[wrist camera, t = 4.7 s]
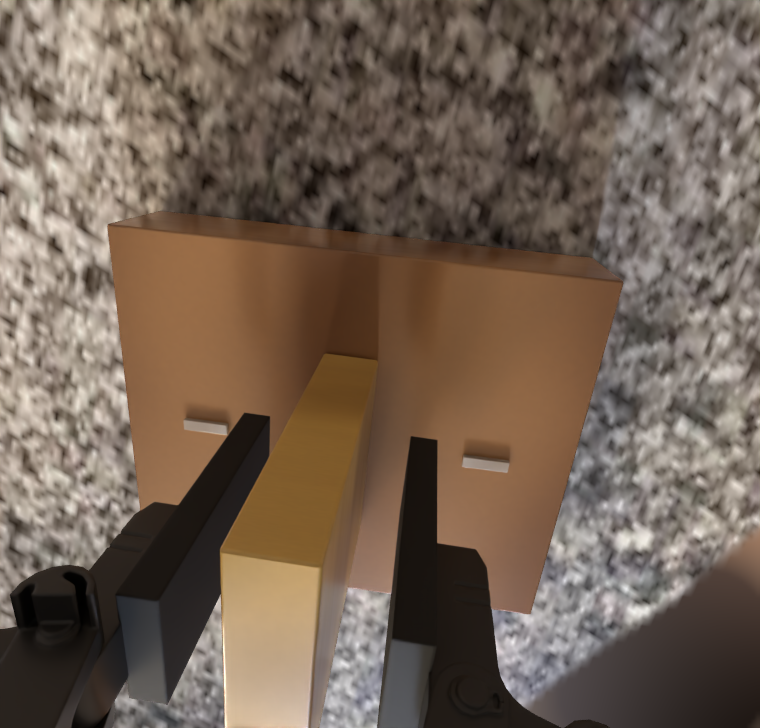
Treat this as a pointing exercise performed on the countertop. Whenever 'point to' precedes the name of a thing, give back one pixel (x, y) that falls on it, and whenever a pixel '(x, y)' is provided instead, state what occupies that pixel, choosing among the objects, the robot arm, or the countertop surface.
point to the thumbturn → (296, 553)
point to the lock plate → (394, 374)
